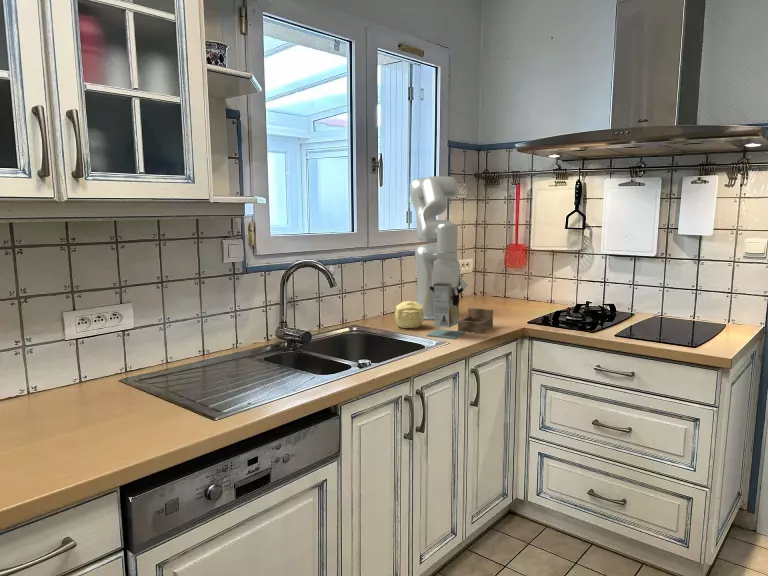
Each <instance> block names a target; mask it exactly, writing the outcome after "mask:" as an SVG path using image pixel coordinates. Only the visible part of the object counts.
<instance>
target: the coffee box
mask: <svg viewBox="0 0 768 576" xmlns="http://www.w3.org/2000/svg"><path fill="white" fill-rule="evenodd" d="M454 295H455V293H454V290H453V288H451V284H442V283H436V284H434V319H433V320H434V322H433V323H434V327H436V328H452V327H454V326H456V325H458V323H459V320H460V306H459V305H460V302H459V303H458V305H457V306H454Z"/></svg>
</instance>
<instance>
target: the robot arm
mask: <svg viewBox="0 0 768 576" xmlns="http://www.w3.org/2000/svg"><path fill="white" fill-rule="evenodd" d="M458 189H459V187H458V182H457V180H456V178H455V177H453V176H443V175H442V176H438V175H437V176H428V177H421V178H416V179H414V180H412V181H411V182H410V185H409V192H410V199H411V201H412V205H413V207H414V210H415V217H416V233H417V238H418V240H419V241H420V242H423V243H425V244H421V245H419V246H418V247H416V249H415V253H414V254H415V257H414V258H415V264H416V276H417V277H416V278H417V279H416V282H417V283H416V285H417V286H416V294H417V295H416V302H417V303H419V304H421V305H423V306H424V308H423V312H424V318H423V320H426V321H427V320H428V321H429V320H434V284H436V283H442V284H451V288H453V290H454V293H455V295H454V306H457V305H458V303H459V304H460V295H461V293H463V292H464V291H465V289H466V288H468V285H469V284H468V283H467V282H466V281H464V279H462V274H461V266H460V260H458V238H459V237H458V235H459V233H458V232H459V230H458V229H459V228H458V225H457V224H456V223H455V222H451V220H449V219H437V216H439V215H441V214H443V213H444V212H445V211H446V210H447V208H448V202H447V199H452V198H455V197H456V196H457V194H458V191H459V190H458ZM426 243H427V244H426ZM428 243H430V244H428ZM431 243H433V244H431ZM460 286H461V287H460Z"/></svg>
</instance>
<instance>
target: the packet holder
mask: <svg viewBox="0 0 768 576" xmlns="http://www.w3.org/2000/svg"><path fill="white" fill-rule="evenodd" d="M493 324H494V309H487V308H485V309H484V308H475V307H468V308H467V316H465V317H463V318H461V319H459V323H458V324H457V331H462V332H465V333H472V332H474V333H475V334H482V333H483V334H485V333H487V332H488V331H489V330H490V328H491V329H492V328H493V327H494V325H493ZM487 330H488V331H487ZM484 332H485V333H484ZM474 333H473V334H474Z"/></svg>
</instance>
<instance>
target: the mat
mask: <svg viewBox="0 0 768 576" xmlns="http://www.w3.org/2000/svg"><path fill="white" fill-rule="evenodd" d="M464 334H466V332H462V331H458V330H453V329H449V330H448V329H441V328H439V329H435V330H433V331H432V332H430V333H427V334H426V337H432V338H440V339H442V338H443V339H450V340H451V339H452V340H456V339H458V338H459V337H461V336H463V335H464Z"/></svg>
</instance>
